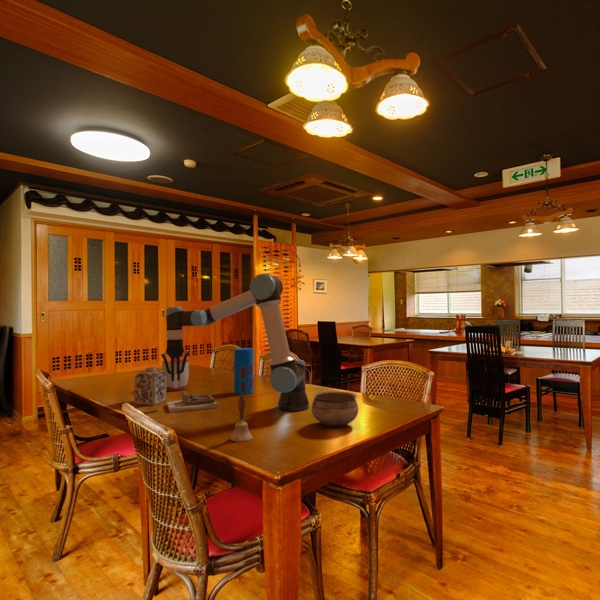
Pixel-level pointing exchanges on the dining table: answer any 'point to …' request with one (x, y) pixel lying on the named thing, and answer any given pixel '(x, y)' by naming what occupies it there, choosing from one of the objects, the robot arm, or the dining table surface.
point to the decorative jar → (150, 387)
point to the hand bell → (241, 425)
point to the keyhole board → (180, 406)
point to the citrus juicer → (183, 376)
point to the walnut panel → (200, 400)
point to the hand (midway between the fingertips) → (175, 387)
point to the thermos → (243, 371)
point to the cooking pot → (335, 408)
